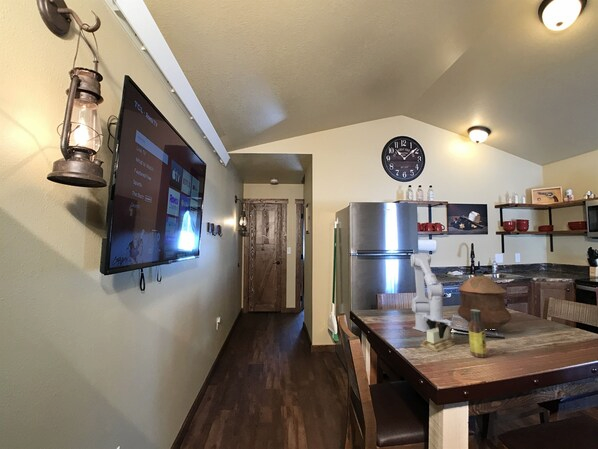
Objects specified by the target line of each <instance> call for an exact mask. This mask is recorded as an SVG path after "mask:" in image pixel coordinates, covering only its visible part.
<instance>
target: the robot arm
mask: <svg viewBox="0 0 598 449" xmlns="http://www.w3.org/2000/svg"><path fill="white" fill-rule="evenodd" d="M431 262H432V256H431V254H429V253H411V255H410V266H411V268H413V271H414V277H415V278H414V279H415V281H414V282H415V292H416V296H415V297H413V298H412V299H411V311H412V312H413V313H414V317H415V319H414V320H415V325H414V326H413V327H412V329H414V330H417V331H420V332H423V333H427V330H431V329H434V328H437V327H438V329H439V336H440V338H441V339H442V338H443V337H444V332H445V330H446V328H448V327H452V326H453V325H454V324H453V323H454V322H453V321H452V320H450V319H447V318H444V307H443V297H444V295H445V290H444V286H443V284H442V283H440V282H439V280H438V278H437V276H436V274H435V273H433V272H432V268H431ZM425 284H426V286H425ZM426 293H427V296H428V297H426Z"/></svg>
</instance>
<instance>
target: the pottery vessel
mask: <svg viewBox="0 0 598 449" xmlns="http://www.w3.org/2000/svg"><path fill="white" fill-rule="evenodd" d="M457 290H458V291H459V294H460V301H461V302H460V303H461V305H460V306H458V309H457V314H458V315H459V317H460V318H462V319H464V321H466V322H468V324H469V323H470V321H471V313H470V310H471V309H476V310H480V311H481V321H482V324H483V326H484V328H485V329H487V330H490V329H491V330H492V329H496V330H497V329H498V328H500V327H502V326H505V325H506V324H508V323H510V321H512V318H513V317H512V315H511V312H510V311H509V310H508V308H507V307H506V302H505V294H506V293H507V292H508V291H507V290H506V289H504V288H503V287H501V286H500V285H499V284H498V283H497V282H495V280H493V279H492V278H490V277H488V276H483V275H482V276H481V275H479V276H470V277H469V278H468V279H467V280H466V281H464V282H463V283H462V284H461V285H460V286H459V287H457Z"/></svg>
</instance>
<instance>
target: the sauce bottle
mask: <svg viewBox="0 0 598 449" xmlns="http://www.w3.org/2000/svg"><path fill="white" fill-rule="evenodd" d="M470 313H471V321H470V323H469V322H468V342H469V350H470V351H469V353H470V354H471V356H474V357H475V358H486V357H487V354H488V353H487V340H486V339H487V338H486V331H485V328H484V326H483V324H482V321H481V311H480V310H476V309H471V310H470Z"/></svg>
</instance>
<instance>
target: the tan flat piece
mask: <svg viewBox="0 0 598 449" xmlns="http://www.w3.org/2000/svg"><path fill="white" fill-rule="evenodd" d="M420 346H421V347H423V348H427V349H429V350H432V351H434V352H436V353H438V352H441V351H443V350H445V349H448V348H450V347H452V346H456V343H455V342H454V339H451V338H449V339H445V340H442V341H440V342H437V343H431V342H428V341H427V339H424V340H422V343H421V344H420Z"/></svg>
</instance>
